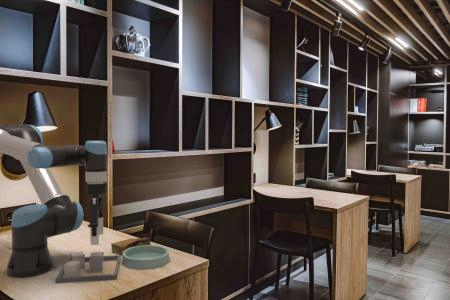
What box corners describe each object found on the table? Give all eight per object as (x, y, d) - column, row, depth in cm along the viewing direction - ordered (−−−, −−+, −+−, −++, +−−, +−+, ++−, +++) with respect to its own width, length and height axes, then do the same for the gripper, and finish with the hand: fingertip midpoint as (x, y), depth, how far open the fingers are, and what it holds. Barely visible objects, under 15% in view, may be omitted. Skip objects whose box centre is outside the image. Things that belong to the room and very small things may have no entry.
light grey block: (64, 278, 132) (64, 264, 132) (69, 274, 136) (69, 260, 136) (75, 279, 132) (75, 265, 132) (80, 274, 136) (80, 261, 136)
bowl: (121, 270, 141) (121, 261, 141) (124, 254, 159) (124, 246, 158) (169, 267, 145) (169, 258, 144) (167, 252, 162) (167, 244, 162)
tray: (55, 283, 128) (55, 278, 128) (68, 261, 149) (68, 257, 149) (116, 279, 132) (116, 274, 132) (120, 258, 153) (120, 255, 153)
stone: (120, 257, 156) (120, 244, 155) (110, 251, 162) (110, 240, 162) (151, 250, 166) (152, 238, 166) (141, 245, 172) (141, 234, 172)
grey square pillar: (89, 272, 138) (89, 256, 138) (91, 268, 143) (91, 252, 142) (102, 271, 139) (102, 255, 139) (103, 267, 144) (103, 251, 143)
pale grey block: (72, 269, 141) (72, 256, 141) (70, 265, 145) (70, 253, 144) (84, 267, 143) (84, 254, 143) (82, 263, 147) (82, 251, 147)
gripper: (103, 187, 128) (103, 249, 129) (110, 178, 152) (110, 230, 153) (79, 187, 126) (80, 250, 127) (90, 178, 151) (91, 231, 152)
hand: (97, 239), depth 140 cm, fingers open, 13 cm apart
